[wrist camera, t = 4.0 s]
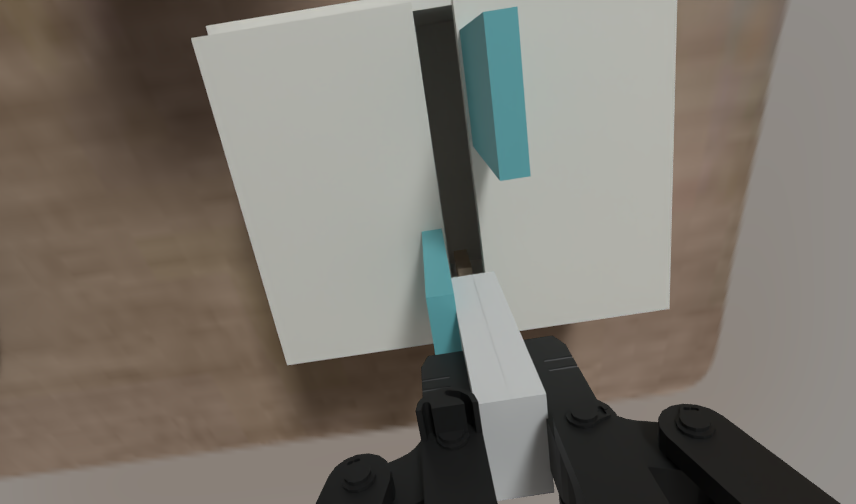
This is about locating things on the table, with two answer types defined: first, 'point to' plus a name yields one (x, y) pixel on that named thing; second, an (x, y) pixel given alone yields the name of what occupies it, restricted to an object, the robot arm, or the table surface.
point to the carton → (441, 108)
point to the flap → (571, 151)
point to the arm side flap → (336, 180)
